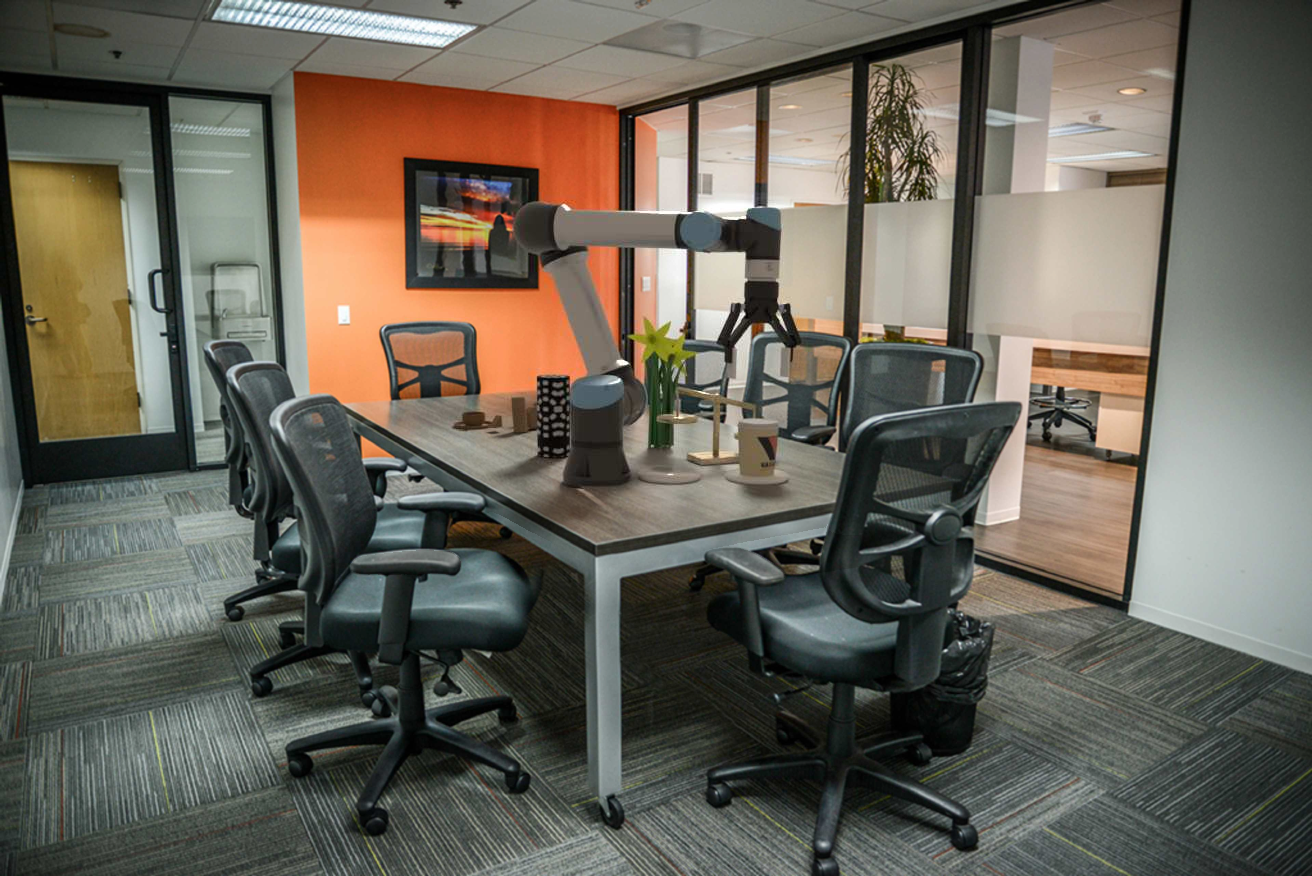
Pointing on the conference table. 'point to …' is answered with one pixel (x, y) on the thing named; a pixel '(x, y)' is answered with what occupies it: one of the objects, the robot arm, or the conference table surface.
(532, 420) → the wooden block set
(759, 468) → the coffee cup
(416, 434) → the conference table surface
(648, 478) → the disc
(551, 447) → the spotted tube
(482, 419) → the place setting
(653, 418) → the daffodil flowers
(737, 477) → the dish
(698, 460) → the balance
